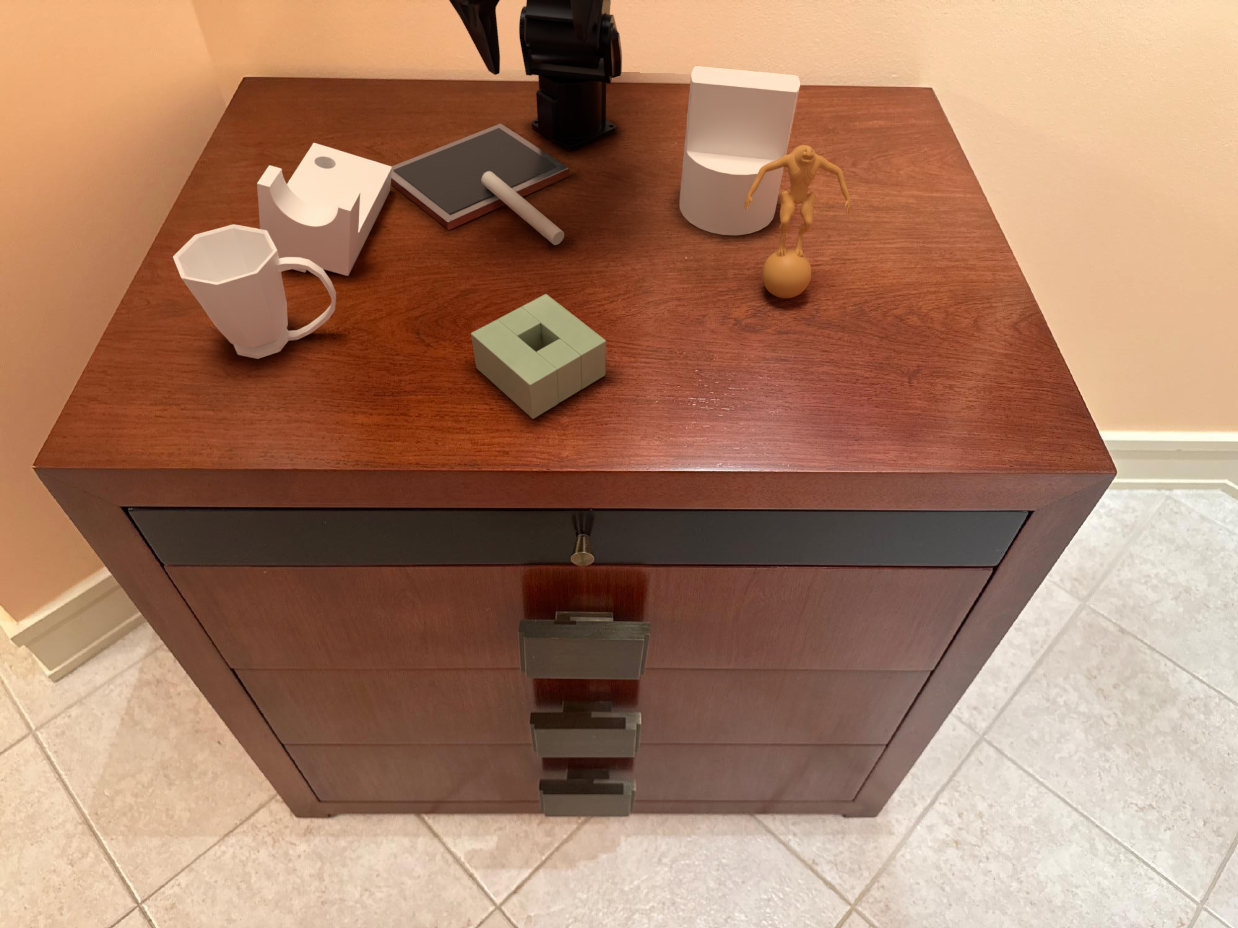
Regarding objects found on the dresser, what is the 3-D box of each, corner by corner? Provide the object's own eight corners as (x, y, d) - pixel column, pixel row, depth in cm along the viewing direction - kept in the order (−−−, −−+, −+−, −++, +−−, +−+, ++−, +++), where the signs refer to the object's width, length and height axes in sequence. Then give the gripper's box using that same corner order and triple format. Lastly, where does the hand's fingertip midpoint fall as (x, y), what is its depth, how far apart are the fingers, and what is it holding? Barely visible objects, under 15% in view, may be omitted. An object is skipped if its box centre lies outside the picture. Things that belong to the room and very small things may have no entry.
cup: (222, 313, 64) (182, 226, 58) (350, 304, 66) (324, 218, 59) (206, 374, 60) (161, 287, 54) (344, 363, 61) (315, 277, 55)
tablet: (501, 131, 84) (500, 122, 83) (569, 176, 78) (569, 166, 78) (383, 178, 77) (381, 169, 77) (449, 230, 72) (447, 220, 72)
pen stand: (547, 328, 64) (545, 293, 62) (605, 375, 61) (606, 340, 58) (475, 368, 61) (470, 333, 59) (532, 419, 58) (529, 385, 55)
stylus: (490, 166, 74) (564, 228, 71) (490, 179, 76) (564, 241, 72) (478, 172, 74) (552, 235, 70) (478, 185, 75) (551, 247, 71)
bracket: (347, 284, 69) (350, 211, 63) (262, 260, 67) (256, 183, 62) (389, 199, 77) (395, 127, 71) (313, 176, 76) (313, 101, 70)
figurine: (734, 306, 67) (757, 173, 57) (730, 261, 70) (750, 130, 61) (834, 310, 67) (873, 178, 57) (825, 265, 70) (860, 135, 61)
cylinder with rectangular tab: (776, 186, 78) (800, 60, 69) (773, 240, 73) (799, 110, 63) (684, 176, 79) (696, 50, 70) (674, 229, 73) (685, 99, 64)
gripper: (485, -128, 46) (507, 132, 58) (711, -178, 54) (689, 59, 66) (381, -171, 51) (421, 76, 63) (602, -211, 59) (600, 14, 72)
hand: (539, 56), depth 66 cm, fingers open, 9 cm apart
